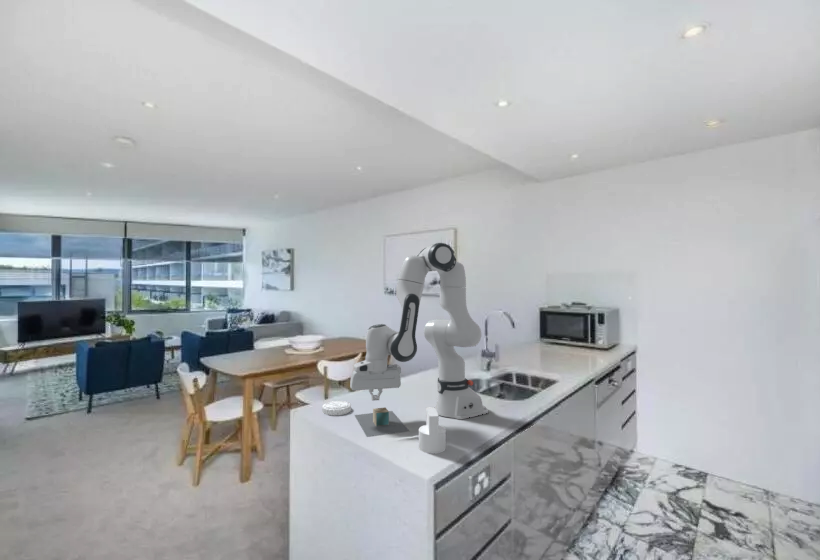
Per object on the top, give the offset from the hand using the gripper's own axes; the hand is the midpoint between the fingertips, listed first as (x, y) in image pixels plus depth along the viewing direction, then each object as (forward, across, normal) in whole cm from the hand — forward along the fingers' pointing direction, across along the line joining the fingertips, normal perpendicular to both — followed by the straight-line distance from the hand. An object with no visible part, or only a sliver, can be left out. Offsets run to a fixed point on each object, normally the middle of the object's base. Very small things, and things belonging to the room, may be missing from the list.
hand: (375, 400), depth 153 cm
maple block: (+5, -1, +3) cm, 6 cm away
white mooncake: (+8, +13, -15) cm, 21 cm away
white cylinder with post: (+9, -12, +30) cm, 34 cm away
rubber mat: (+8, -1, +5) cm, 9 cm away
